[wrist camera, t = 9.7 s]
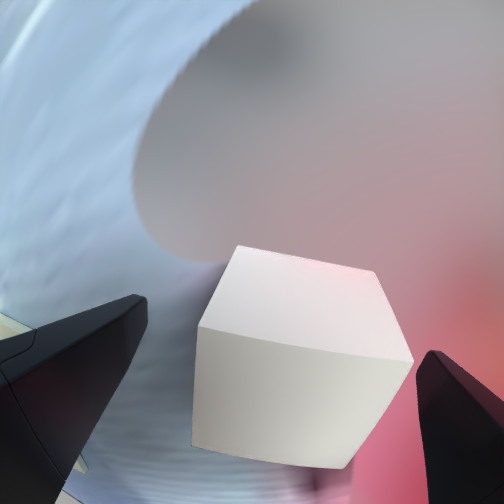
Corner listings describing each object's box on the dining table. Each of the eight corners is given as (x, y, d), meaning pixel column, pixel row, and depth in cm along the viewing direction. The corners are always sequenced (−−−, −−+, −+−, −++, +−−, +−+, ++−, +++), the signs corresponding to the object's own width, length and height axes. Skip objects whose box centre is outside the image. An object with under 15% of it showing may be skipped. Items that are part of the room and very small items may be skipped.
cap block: (335, 372, 10) (343, 469, 7) (222, 352, 11) (191, 446, 7) (373, 271, 9) (414, 361, 5) (237, 244, 9) (197, 325, 5)
